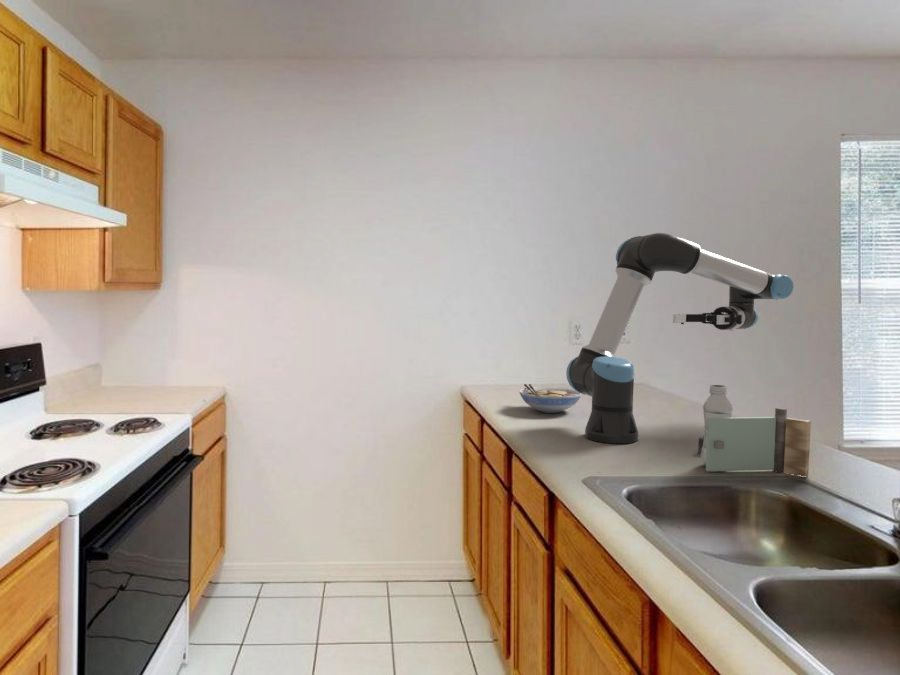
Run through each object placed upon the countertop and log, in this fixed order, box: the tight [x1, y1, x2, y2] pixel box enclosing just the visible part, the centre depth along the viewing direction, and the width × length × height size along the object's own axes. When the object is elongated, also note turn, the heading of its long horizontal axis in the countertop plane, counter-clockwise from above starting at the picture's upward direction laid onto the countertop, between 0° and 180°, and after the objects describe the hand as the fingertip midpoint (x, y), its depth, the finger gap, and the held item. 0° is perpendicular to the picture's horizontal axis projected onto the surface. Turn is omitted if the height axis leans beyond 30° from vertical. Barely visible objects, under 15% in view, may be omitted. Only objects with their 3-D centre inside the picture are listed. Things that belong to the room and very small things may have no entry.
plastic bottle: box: [700, 384, 733, 467], centre depth 139 cm, size 6×7×20 cm
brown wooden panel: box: [697, 407, 812, 477], centre depth 142 cm, size 26×5×15 cm, turn 41°
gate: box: [705, 416, 776, 472], centre depth 134 cm, size 16×3×12 cm, turn 96°
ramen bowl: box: [518, 383, 583, 414], centre depth 208 cm, size 25×23×8 cm
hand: (695, 319), depth 173 cm, fingers open, 13 cm apart
